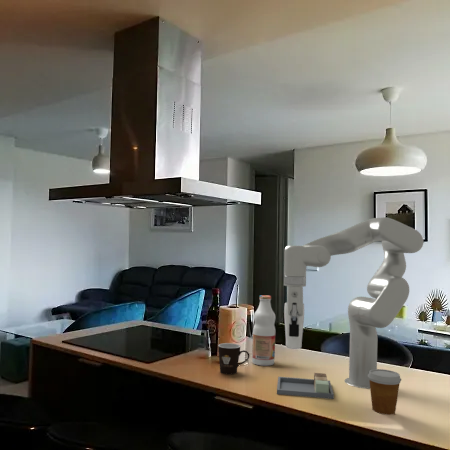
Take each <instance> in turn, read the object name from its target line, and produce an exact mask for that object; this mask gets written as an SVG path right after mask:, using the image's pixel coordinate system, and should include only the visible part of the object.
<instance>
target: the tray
mask: <svg viewBox="0 0 450 450" xmlns="http://www.w3.org/2000/svg"><path fill="white" fill-rule="evenodd" d="M328 383H329V393H320V392H315V388H314V378H313V379H312V378H300V377H288V376H278V377H277V385H276V395H281V396H284V395H285V396H291V397H292V396H295V397H304V398H316V399H318V398H319V399H326V400H327V399H328V400H333V399H334V398H335V394H334V390H333V387H332V383H331V380H328Z"/></svg>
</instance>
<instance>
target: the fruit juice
mask: <svg viewBox="0 0 450 450" xmlns="http://www.w3.org/2000/svg"><path fill="white" fill-rule="evenodd" d="M271 300H272V295H259V303H258V304H259V305H258V307H257V309H256V311H254V313H253V321H254V325H253V328H252V346H251V347H252V349H251V350H252V351H251V352H252V353H251V363H252V364H254V365H257V366H263V367H264V366H273V365H274V364H275V359H276V358H275V357H276V356H275V354H276V326H275V322H276V314H275V311H274V310H273V308H272V303H271Z"/></svg>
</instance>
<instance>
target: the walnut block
mask: <svg viewBox="0 0 450 450" xmlns="http://www.w3.org/2000/svg"><path fill="white" fill-rule="evenodd" d="M315 376H317V377H327V378H328V376H327V373H323V372H322V373H321V372H314V373H313V379H314V388H315Z"/></svg>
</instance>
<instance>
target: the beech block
mask: <svg viewBox="0 0 450 450" xmlns="http://www.w3.org/2000/svg"><path fill="white" fill-rule="evenodd" d="M316 380H321V381H329V380H328V376H327V377H317V376H315V383H316Z"/></svg>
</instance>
